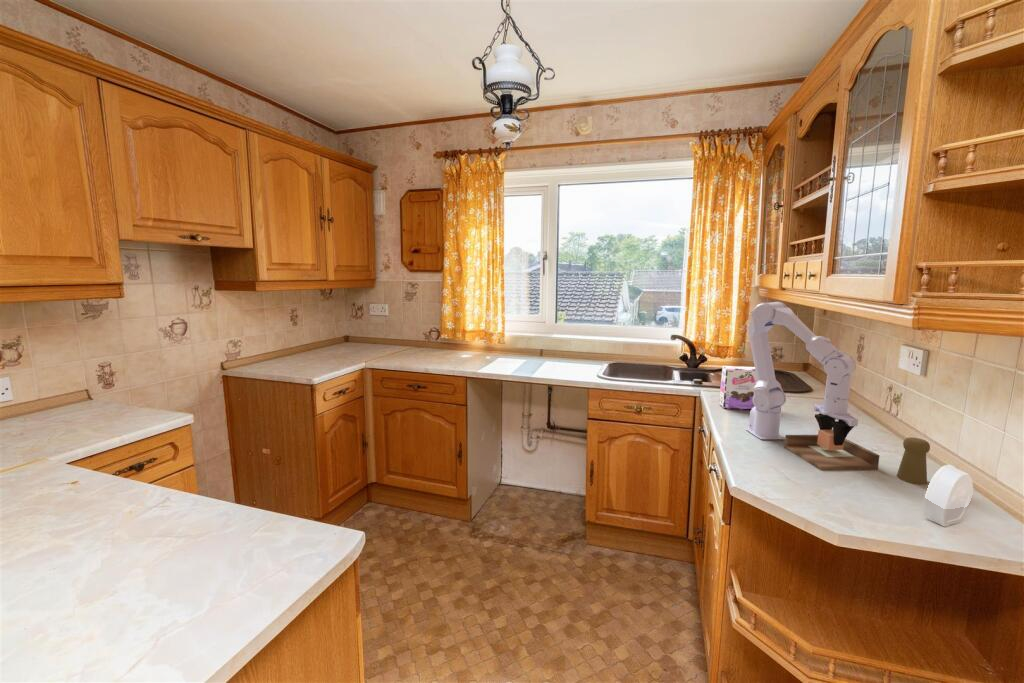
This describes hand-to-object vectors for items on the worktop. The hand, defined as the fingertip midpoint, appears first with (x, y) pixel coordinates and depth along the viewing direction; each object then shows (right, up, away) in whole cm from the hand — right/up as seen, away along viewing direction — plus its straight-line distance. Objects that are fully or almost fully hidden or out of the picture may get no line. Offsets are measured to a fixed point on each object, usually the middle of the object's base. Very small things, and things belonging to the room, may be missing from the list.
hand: (831, 441), depth 133 cm
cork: (+10, -7, -15) cm, 19 cm away
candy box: (-4, +3, +47) cm, 47 cm away
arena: (-2, -4, -1) cm, 5 cm away
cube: (0, -2, 0) cm, 2 cm away
